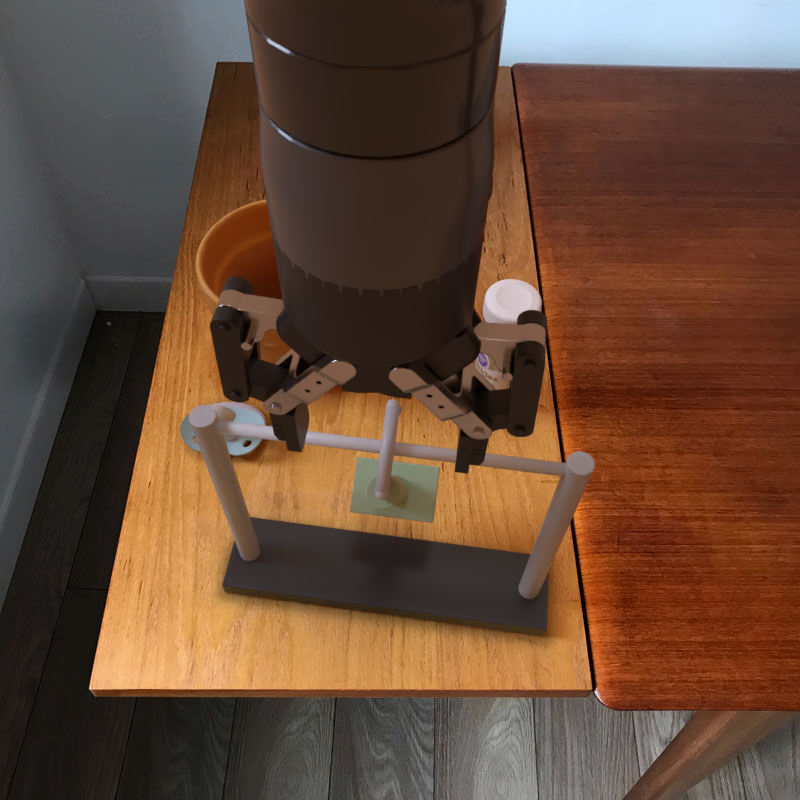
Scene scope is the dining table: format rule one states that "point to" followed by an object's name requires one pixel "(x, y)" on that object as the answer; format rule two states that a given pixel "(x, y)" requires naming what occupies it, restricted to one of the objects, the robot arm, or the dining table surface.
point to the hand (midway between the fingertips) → (380, 447)
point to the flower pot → (242, 263)
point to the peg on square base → (394, 480)
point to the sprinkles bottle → (505, 318)
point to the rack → (389, 546)
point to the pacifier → (234, 414)
